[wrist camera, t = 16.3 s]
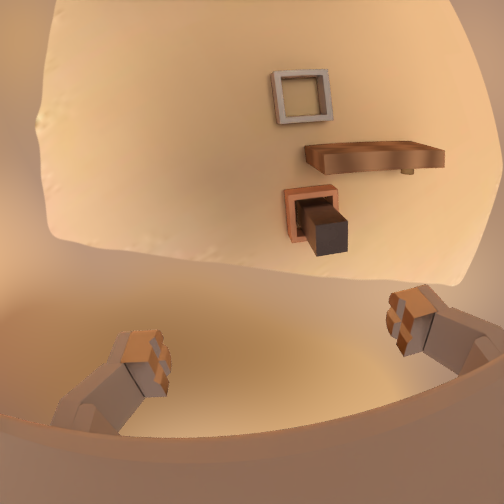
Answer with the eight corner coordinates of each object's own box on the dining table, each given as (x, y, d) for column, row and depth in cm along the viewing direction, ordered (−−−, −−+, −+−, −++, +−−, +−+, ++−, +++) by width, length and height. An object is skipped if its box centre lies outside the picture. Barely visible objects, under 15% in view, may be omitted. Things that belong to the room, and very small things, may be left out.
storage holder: (276, 123, 38) (280, 124, 35) (270, 74, 35) (273, 71, 32) (326, 119, 38) (333, 120, 35) (321, 71, 35) (327, 69, 32)
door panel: (307, 172, 42) (325, 188, 34) (304, 145, 40) (323, 154, 32) (410, 165, 42) (443, 178, 34) (410, 141, 40) (444, 150, 32)
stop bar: (297, 223, 45) (316, 256, 35) (295, 198, 43) (315, 225, 33) (322, 219, 45) (347, 251, 35) (321, 195, 43) (347, 221, 33)
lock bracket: (288, 234, 46) (292, 243, 43) (284, 189, 43) (288, 195, 40) (332, 228, 46) (338, 236, 43) (331, 184, 43) (337, 189, 40)
